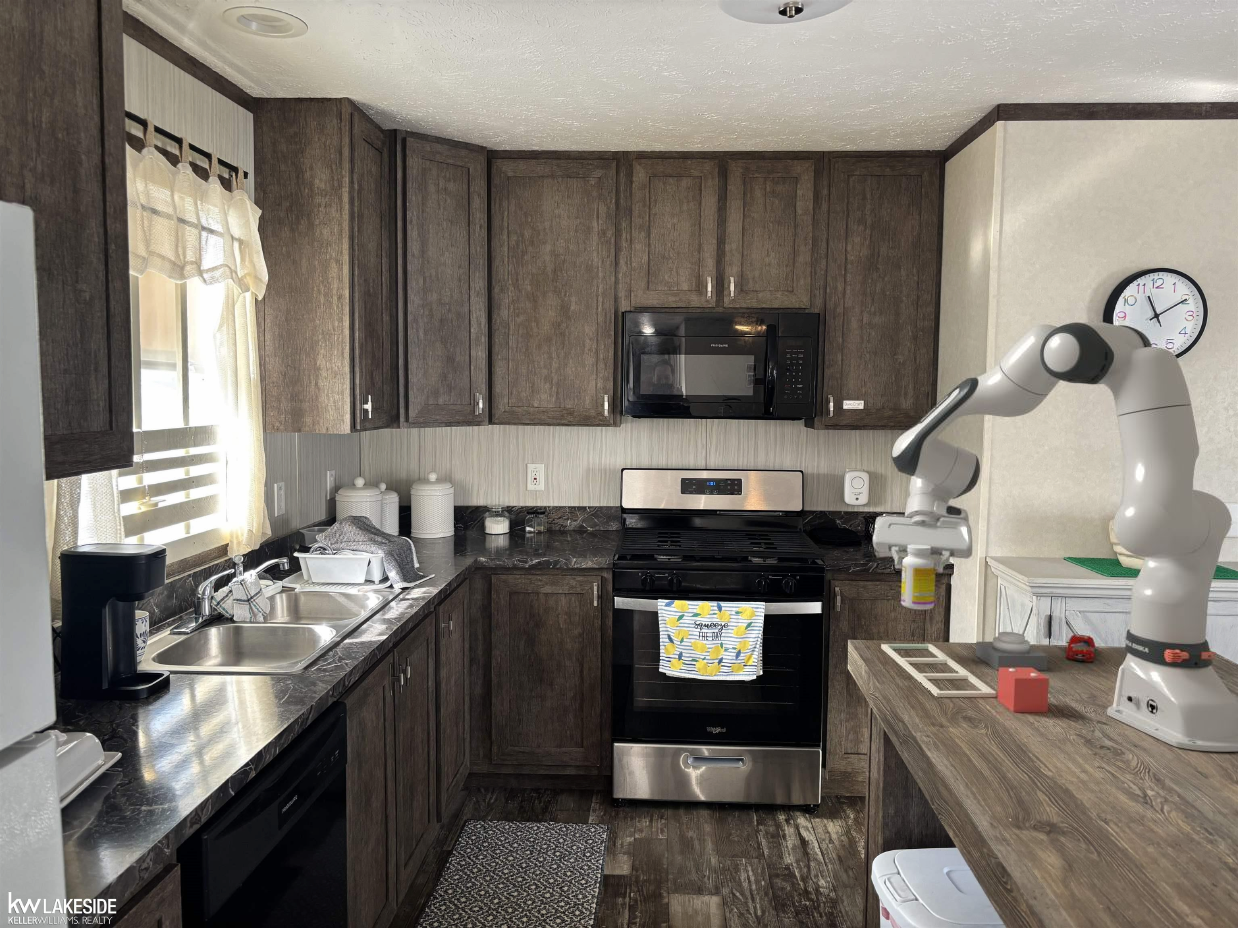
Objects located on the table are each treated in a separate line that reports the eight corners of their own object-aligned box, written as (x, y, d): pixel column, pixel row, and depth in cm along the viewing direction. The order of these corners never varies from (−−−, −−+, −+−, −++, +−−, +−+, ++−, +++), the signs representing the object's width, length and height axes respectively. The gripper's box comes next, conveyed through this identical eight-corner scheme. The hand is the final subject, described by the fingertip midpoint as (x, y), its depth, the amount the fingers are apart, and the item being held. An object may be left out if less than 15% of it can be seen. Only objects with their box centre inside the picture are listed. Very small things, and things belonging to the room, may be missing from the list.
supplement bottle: (940, 607, 181) (943, 547, 180) (920, 611, 178) (922, 550, 177) (914, 601, 187) (916, 542, 186) (894, 604, 183) (896, 545, 182)
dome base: (1046, 670, 174) (1047, 655, 174) (997, 670, 174) (998, 655, 173) (1022, 655, 184) (1023, 641, 184) (975, 655, 184) (976, 641, 183)
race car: (1093, 666, 178) (1094, 647, 178) (1064, 661, 181) (1064, 643, 180) (1097, 650, 189) (1097, 632, 189) (1069, 646, 192) (1070, 628, 192)
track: (996, 696, 158) (996, 692, 158) (936, 696, 158) (936, 692, 158) (931, 647, 189) (931, 644, 189) (881, 647, 189) (881, 644, 189)
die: (1047, 711, 151) (1049, 677, 150) (1013, 711, 151) (1014, 677, 150) (1030, 699, 157) (1031, 666, 156) (997, 699, 157) (998, 666, 156)
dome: (1036, 653, 175) (1036, 639, 175) (1002, 653, 175) (1002, 639, 175) (1019, 643, 182) (1020, 630, 182) (986, 643, 182) (987, 630, 182)
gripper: (875, 504, 192) (865, 555, 184) (975, 510, 183) (969, 564, 175) (878, 522, 196) (869, 572, 188) (975, 528, 187) (970, 582, 179)
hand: (918, 568), depth 181 cm, fingers closed on supplement bottle, 7 cm apart
